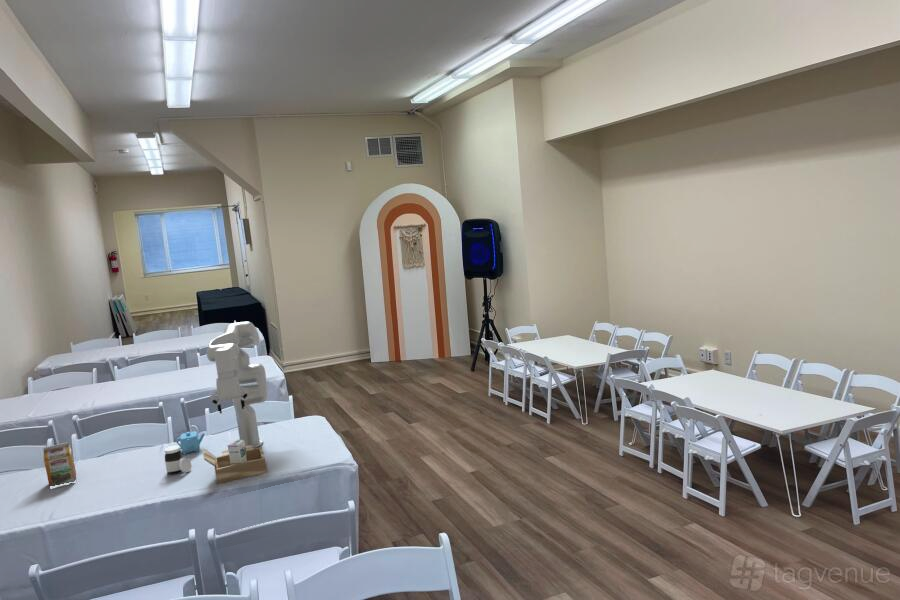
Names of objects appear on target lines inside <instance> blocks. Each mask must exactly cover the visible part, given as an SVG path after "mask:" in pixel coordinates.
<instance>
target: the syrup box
mask: <svg viewBox="0 0 900 600" xmlns="http://www.w3.org/2000/svg"><path fill="white" fill-rule="evenodd" d="M227 450H228V451H229V457H230V463H231V465H235V464H239V463H244V462H248V459H247V453H246V447H245V441H244V440H240V439H233V440H232V441H231V442H230V443H229V444H227Z"/></svg>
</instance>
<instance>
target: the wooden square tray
mask: <svg viewBox="0 0 900 600" xmlns="http://www.w3.org/2000/svg"><path fill="white" fill-rule="evenodd" d="M245 447H246V453H247V459H248V462H244V463H239V464H235V465H231V463H230V457H229V451H228V449H227V450H223V451H221V454H222V455H219V456H216V465H217V467H214V473H215V477H216V478H215V479H216V485H221V484H225V483H230V482H234V481H239V480H242V479H243V480H244V479H247V478H251V477H256V476H261V475H263V474H268V467H267V460H266V456H265V453H264V450H263V447H262V446H259V447H257V448H254V449H253V447H252V445H249V446H245Z"/></svg>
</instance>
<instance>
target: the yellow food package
mask: <svg viewBox="0 0 900 600" xmlns="http://www.w3.org/2000/svg"><path fill="white" fill-rule="evenodd" d="M42 449H43V462H44V467H45V472H46V477H47V480H48V486H49V488H50V486H55V485H60V484H64V483H69V482H74V481H75V480H76V481H77V477H76V475H77V471H76V466H75V461H74V456H73V449H72V447H71V445H70V442H63V443H59V444H53V445H50V446H44V447H43V448H42Z"/></svg>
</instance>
